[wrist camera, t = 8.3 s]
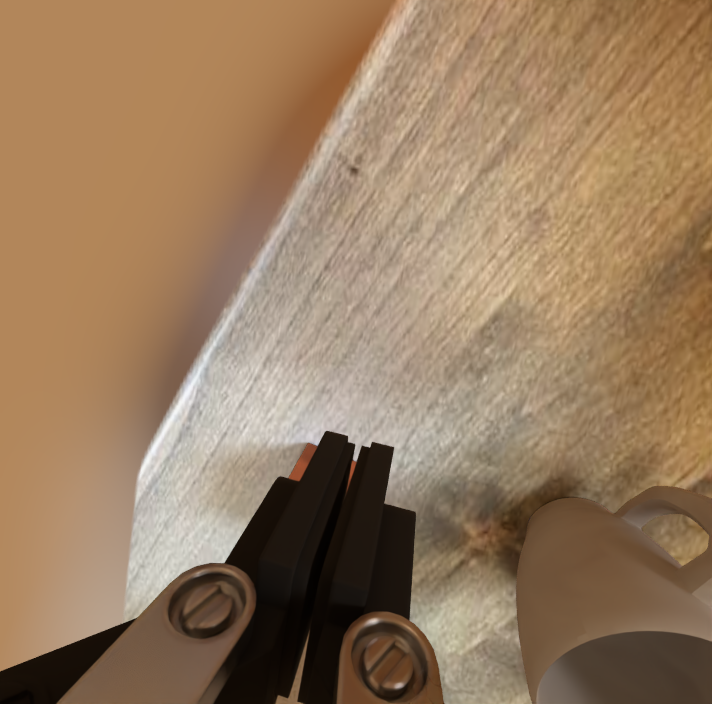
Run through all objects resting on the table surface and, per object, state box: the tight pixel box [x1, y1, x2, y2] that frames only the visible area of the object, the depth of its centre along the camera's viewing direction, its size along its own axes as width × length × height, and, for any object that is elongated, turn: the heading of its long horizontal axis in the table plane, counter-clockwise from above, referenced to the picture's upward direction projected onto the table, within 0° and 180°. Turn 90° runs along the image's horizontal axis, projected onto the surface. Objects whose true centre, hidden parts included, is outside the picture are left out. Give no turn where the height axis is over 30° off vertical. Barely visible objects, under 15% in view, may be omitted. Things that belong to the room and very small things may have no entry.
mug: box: [516, 486, 712, 704], centre depth 20 cm, size 12×9×10 cm
